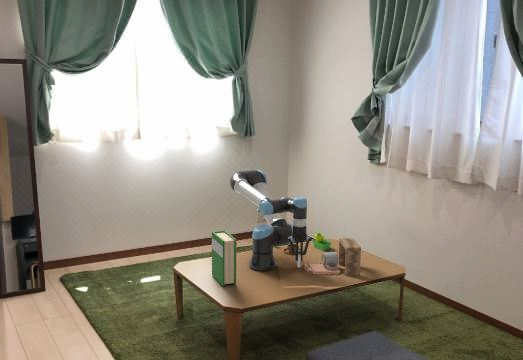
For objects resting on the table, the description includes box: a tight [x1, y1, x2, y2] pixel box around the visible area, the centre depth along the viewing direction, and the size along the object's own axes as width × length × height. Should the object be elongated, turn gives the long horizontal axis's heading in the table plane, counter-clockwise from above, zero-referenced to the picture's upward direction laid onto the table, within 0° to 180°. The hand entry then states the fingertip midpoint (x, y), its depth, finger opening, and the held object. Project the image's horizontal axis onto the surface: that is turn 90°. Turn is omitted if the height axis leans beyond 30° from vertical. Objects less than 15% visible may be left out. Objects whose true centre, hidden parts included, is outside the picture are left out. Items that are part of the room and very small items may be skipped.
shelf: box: [337, 237, 362, 276], centre depth 288 cm, size 8×18×16 cm, turn 4°
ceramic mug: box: [320, 251, 339, 270], centre depth 288 cm, size 11×8×8 cm
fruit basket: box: [311, 232, 333, 252], centre depth 325 cm, size 11×9×11 cm
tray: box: [303, 262, 341, 275], centre depth 288 cm, size 18×15×3 cm
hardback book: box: [211, 230, 237, 287], centre depth 270 cm, size 18×7×24 cm, turn 23°
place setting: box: [283, 243, 300, 256], centre depth 322 cm, size 18×20×6 cm
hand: (298, 266), depth 287 cm, fingers closed
